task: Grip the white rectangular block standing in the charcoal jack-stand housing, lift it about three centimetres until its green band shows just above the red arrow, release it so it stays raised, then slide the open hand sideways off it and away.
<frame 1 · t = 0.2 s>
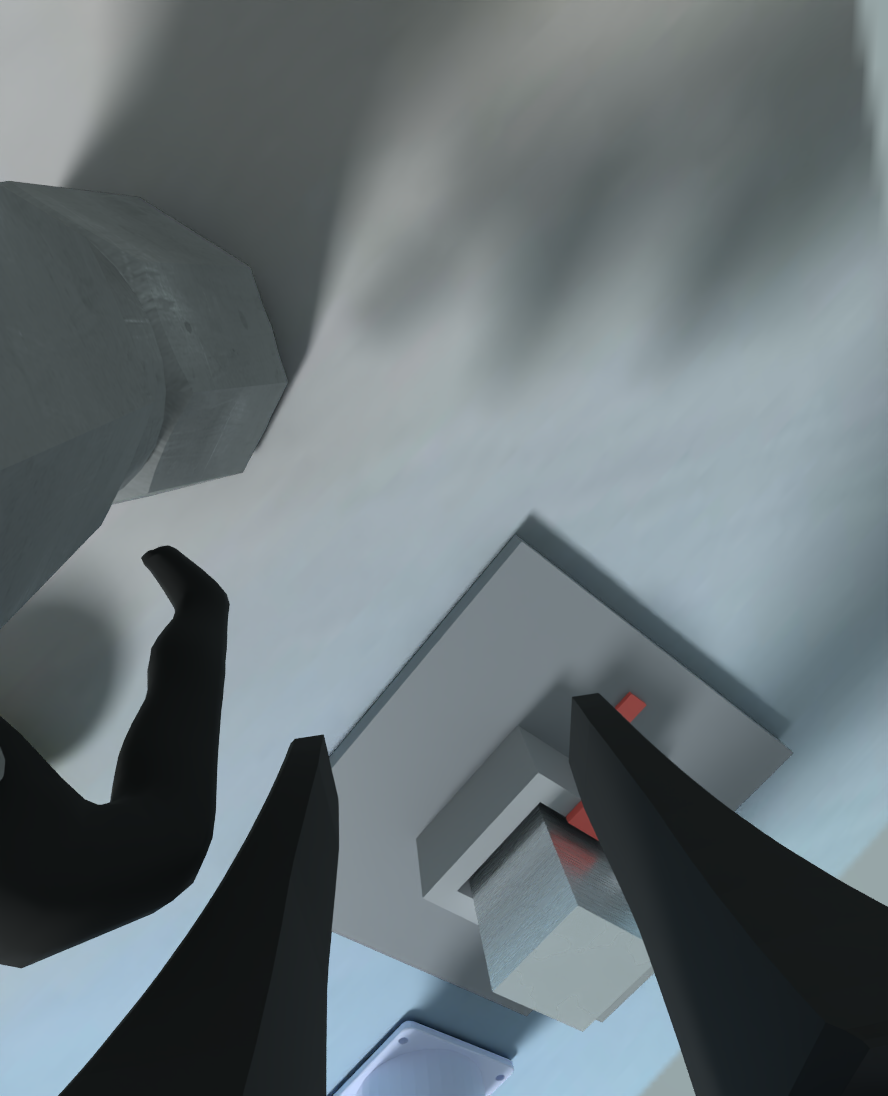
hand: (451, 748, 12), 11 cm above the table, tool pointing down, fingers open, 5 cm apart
white rectangular block: (552, 885, 23), point 5 cm above the table, slide at 0.0 cm
jack base: (518, 801, 27), on the table
coffeepot: (173, 386, 19), on the table, touching gripper
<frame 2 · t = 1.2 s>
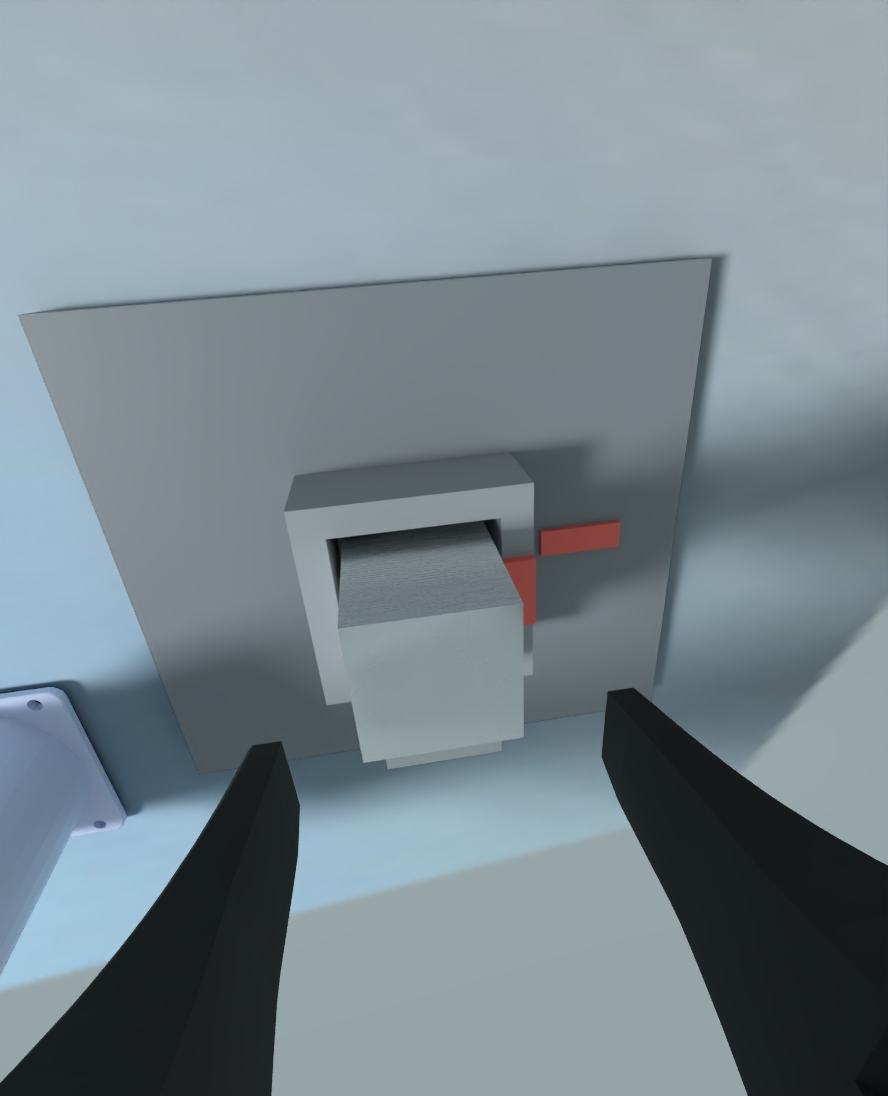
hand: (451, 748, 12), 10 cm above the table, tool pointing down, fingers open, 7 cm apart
white rectangular block: (424, 617, 17), point 5 cm above the table, slide at 0.0 cm
jack base: (411, 545, 21), on the table
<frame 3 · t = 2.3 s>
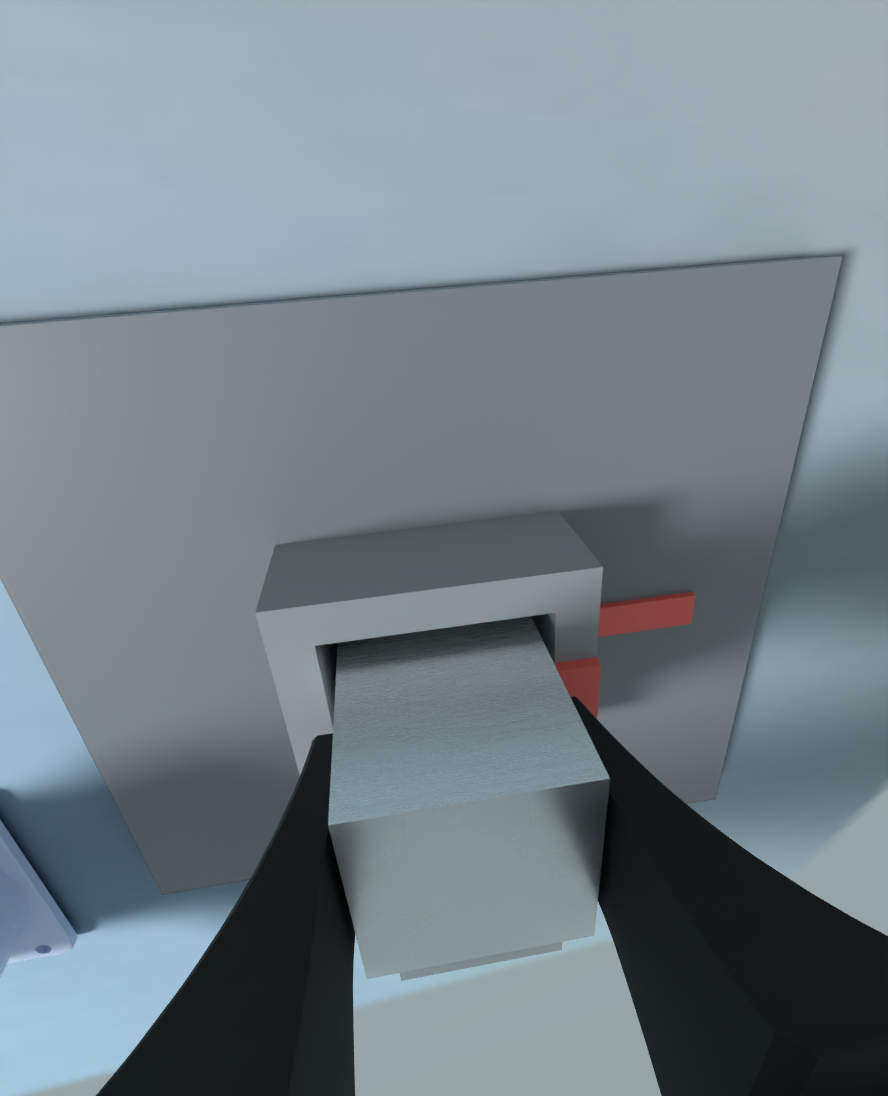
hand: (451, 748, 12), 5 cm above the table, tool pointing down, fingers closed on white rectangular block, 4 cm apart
white rectangular block: (449, 742, 13), point 5 cm above the table, slide at 0.0 cm, touching gripper
jack base: (427, 622, 17), on the table
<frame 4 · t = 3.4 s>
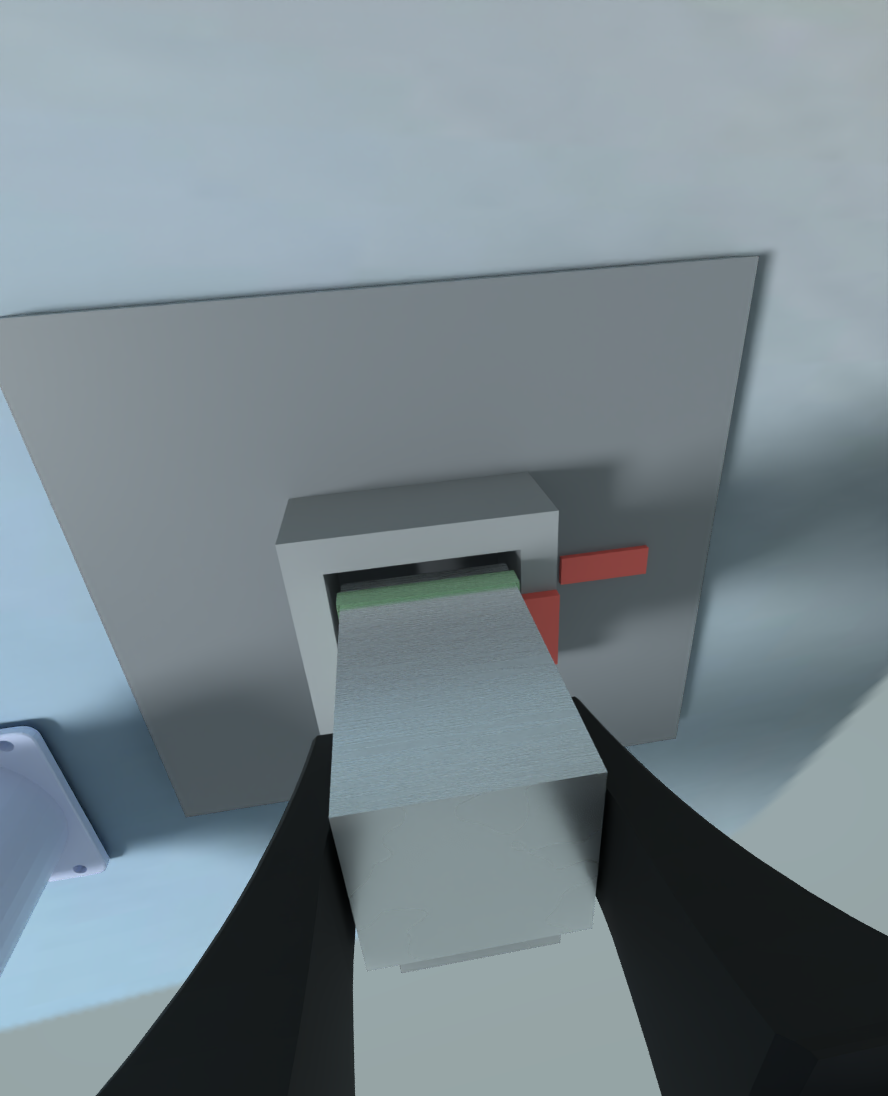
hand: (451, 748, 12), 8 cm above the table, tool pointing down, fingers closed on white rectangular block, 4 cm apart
white rectangular block: (449, 738, 13), point 7 cm above the table, slide at 2.9 cm, touching gripper
jack base: (418, 572, 19), on the table
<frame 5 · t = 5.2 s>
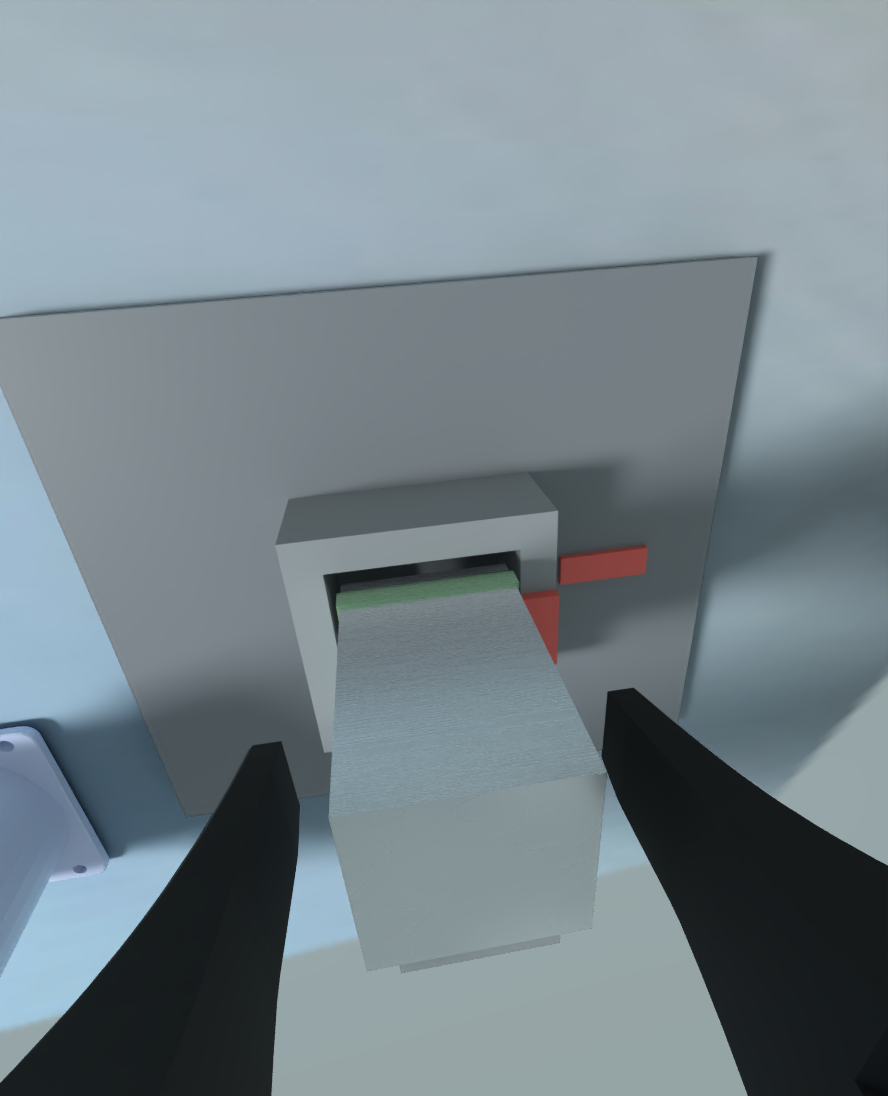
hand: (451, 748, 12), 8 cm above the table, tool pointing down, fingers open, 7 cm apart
white rectangular block: (448, 738, 13), point 7 cm above the table, slide at 2.9 cm
jack base: (417, 572, 19), on the table
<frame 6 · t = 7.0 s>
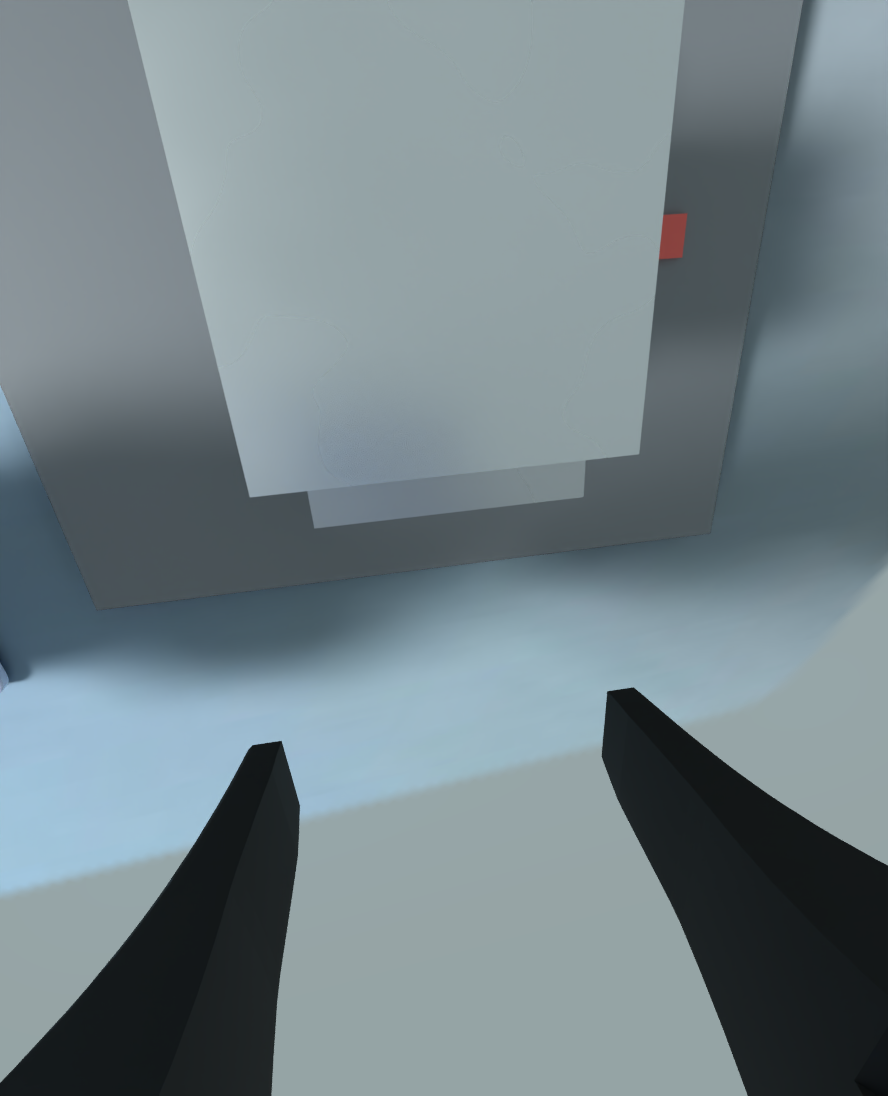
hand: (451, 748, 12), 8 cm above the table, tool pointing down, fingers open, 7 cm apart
white rectangular block: (408, 271, 8), point 7 cm above the table, slide at 2.9 cm
jack base: (385, 258, 15), on the table
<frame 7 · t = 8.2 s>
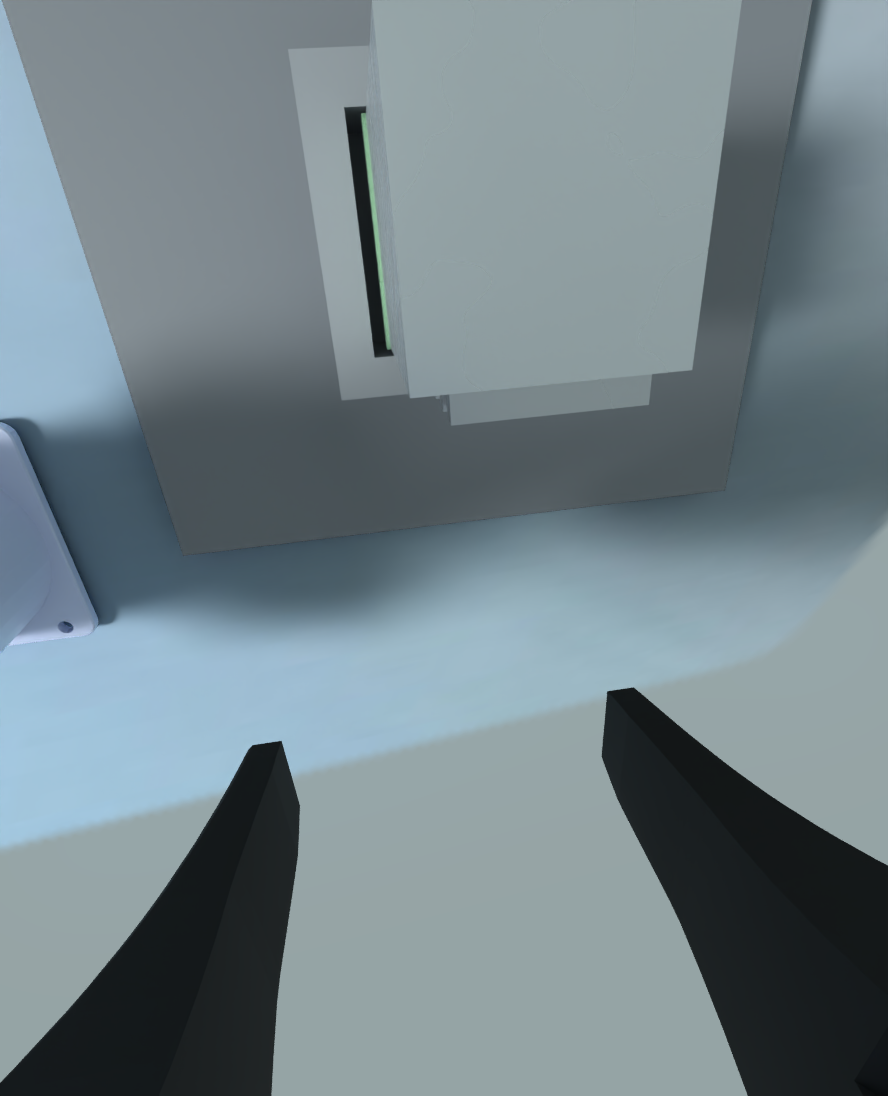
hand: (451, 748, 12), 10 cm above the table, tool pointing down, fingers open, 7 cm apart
white rectangular block: (500, 241, 11), point 7 cm above the table, slide at 2.9 cm
jack base: (445, 241, 17), on the table
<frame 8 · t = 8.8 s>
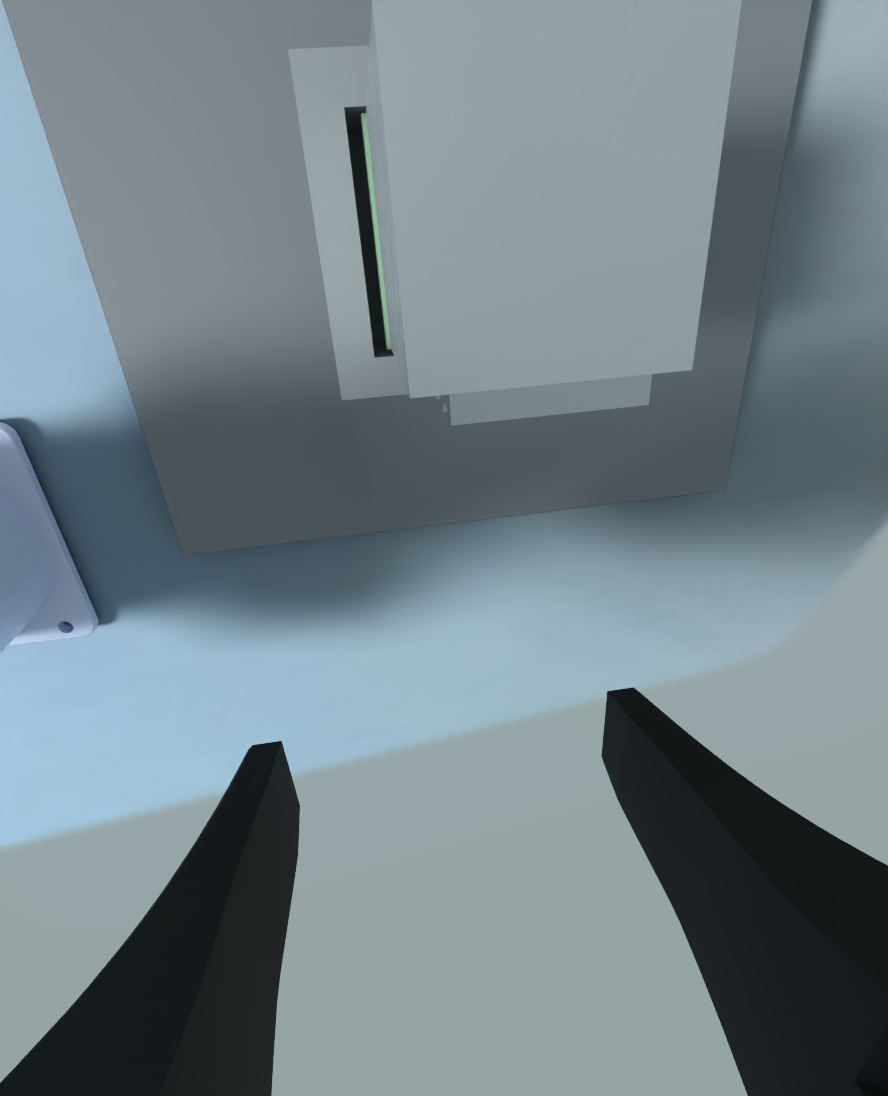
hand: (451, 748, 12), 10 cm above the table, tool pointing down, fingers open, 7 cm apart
white rectangular block: (500, 241, 11), point 7 cm above the table, slide at 2.9 cm
jack base: (445, 241, 17), on the table
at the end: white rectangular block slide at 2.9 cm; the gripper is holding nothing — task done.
